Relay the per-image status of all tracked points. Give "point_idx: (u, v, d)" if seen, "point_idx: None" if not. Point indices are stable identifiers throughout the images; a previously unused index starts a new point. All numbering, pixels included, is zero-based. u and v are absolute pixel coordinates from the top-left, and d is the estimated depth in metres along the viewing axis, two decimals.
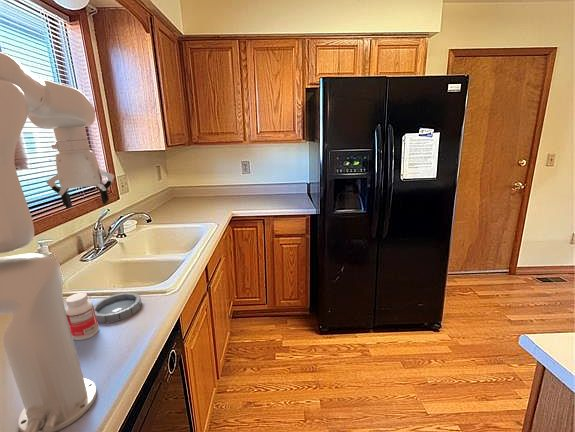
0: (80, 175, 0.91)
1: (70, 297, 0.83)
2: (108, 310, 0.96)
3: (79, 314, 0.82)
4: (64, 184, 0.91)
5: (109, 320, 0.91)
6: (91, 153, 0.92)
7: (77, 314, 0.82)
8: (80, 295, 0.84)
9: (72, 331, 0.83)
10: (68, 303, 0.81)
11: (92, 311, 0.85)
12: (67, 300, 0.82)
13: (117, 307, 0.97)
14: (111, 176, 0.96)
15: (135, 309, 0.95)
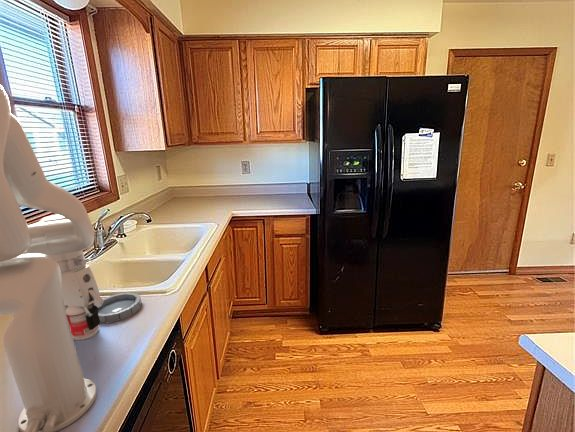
0: None
1: None
2: (108, 310, 0.96)
3: (79, 314, 0.82)
4: None
5: (109, 320, 0.91)
6: None
7: (77, 314, 0.82)
8: None
9: (72, 331, 0.83)
10: (68, 303, 0.81)
11: None
12: None
13: (117, 307, 0.97)
14: None
15: (135, 309, 0.95)
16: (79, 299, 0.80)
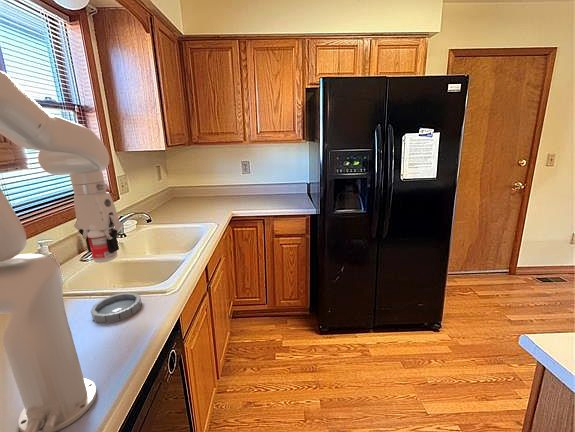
0: None
1: None
2: (108, 310, 0.96)
3: (101, 237, 0.88)
4: None
5: (109, 320, 0.91)
6: None
7: (98, 237, 0.88)
8: None
9: (93, 254, 0.89)
10: (90, 226, 0.88)
11: None
12: None
13: (117, 307, 0.97)
14: None
15: (135, 309, 0.95)
16: (101, 222, 0.87)
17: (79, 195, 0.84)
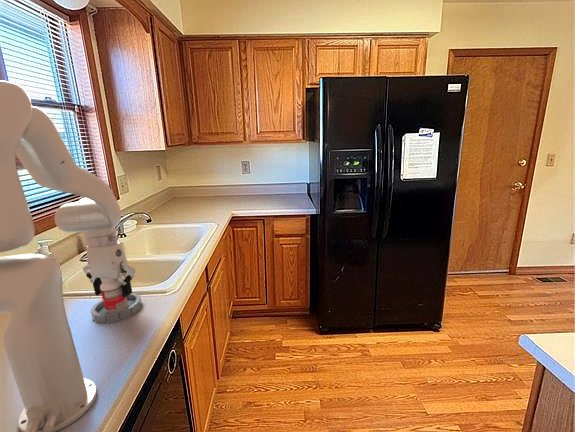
0: None
1: None
2: None
3: (113, 290, 0.92)
4: None
5: (109, 320, 0.91)
6: None
7: (111, 290, 0.92)
8: None
9: (106, 305, 0.93)
10: (103, 280, 0.92)
11: None
12: None
13: None
14: None
15: (135, 309, 0.95)
16: (112, 271, 0.91)
17: (92, 247, 0.88)
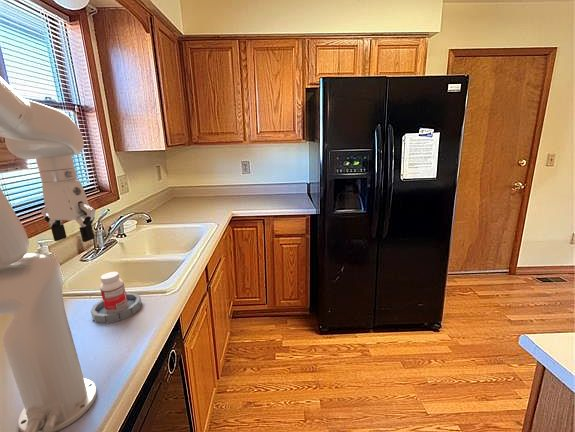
0: None
1: (104, 275, 0.94)
2: None
3: (113, 290, 0.92)
4: None
5: (109, 320, 0.91)
6: None
7: (111, 290, 0.92)
8: (112, 273, 0.95)
9: (106, 305, 0.93)
10: (103, 280, 0.92)
11: (123, 288, 0.95)
12: (102, 277, 0.92)
13: None
14: None
15: (135, 309, 0.95)
16: (69, 211, 0.82)
17: (46, 182, 0.79)
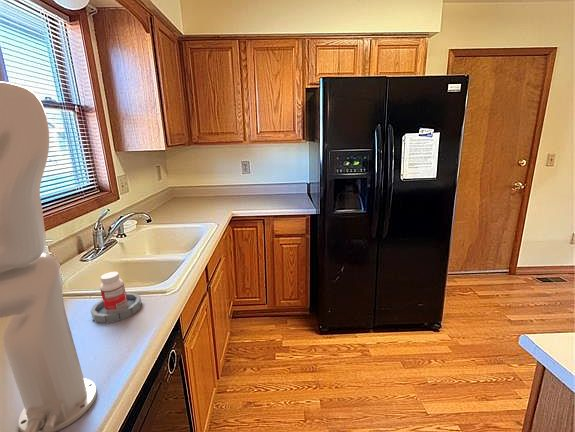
0: None
1: (104, 275, 0.94)
2: None
3: (113, 290, 0.92)
4: None
5: (109, 320, 0.91)
6: None
7: (111, 290, 0.92)
8: (113, 273, 0.95)
9: (106, 305, 0.93)
10: (103, 280, 0.92)
11: (123, 288, 0.95)
12: (102, 277, 0.92)
13: None
14: None
15: (135, 309, 0.95)
16: None
17: None
